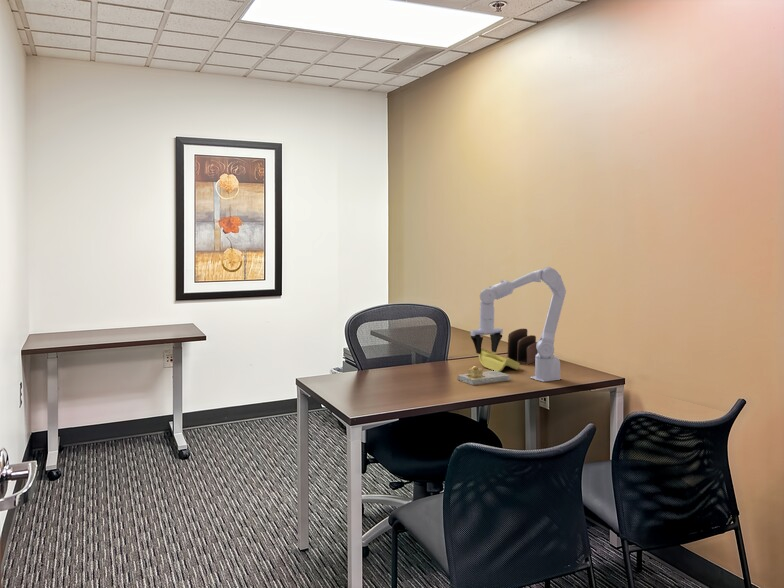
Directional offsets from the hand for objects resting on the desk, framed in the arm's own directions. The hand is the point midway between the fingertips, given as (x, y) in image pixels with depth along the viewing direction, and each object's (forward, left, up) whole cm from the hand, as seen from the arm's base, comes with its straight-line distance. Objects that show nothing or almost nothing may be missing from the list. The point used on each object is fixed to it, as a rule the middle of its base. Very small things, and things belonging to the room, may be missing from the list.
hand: (486, 352), depth 248 cm
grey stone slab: (+4, +4, -10) cm, 11 cm away
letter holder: (-38, -20, -10) cm, 44 cm away
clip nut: (+8, +4, -9) cm, 12 cm away
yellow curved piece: (-16, -14, -10) cm, 24 cm away
